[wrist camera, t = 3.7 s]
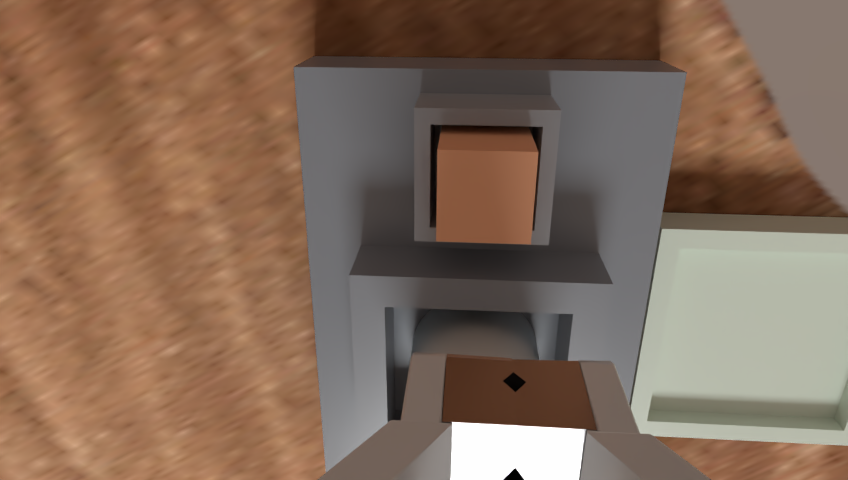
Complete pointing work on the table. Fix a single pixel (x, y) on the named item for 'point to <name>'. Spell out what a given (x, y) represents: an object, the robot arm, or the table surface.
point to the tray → (746, 330)
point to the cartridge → (475, 334)
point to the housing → (462, 261)
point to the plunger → (485, 184)
